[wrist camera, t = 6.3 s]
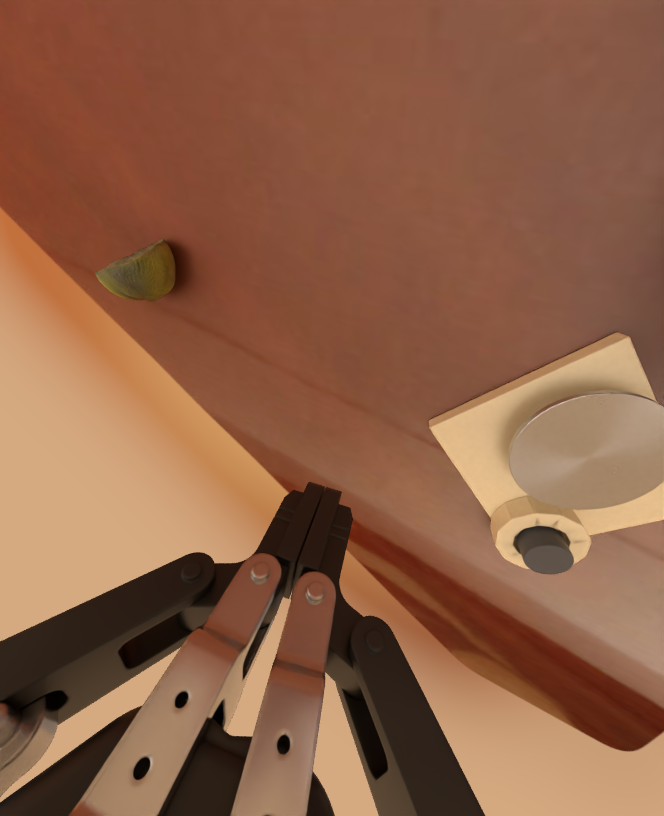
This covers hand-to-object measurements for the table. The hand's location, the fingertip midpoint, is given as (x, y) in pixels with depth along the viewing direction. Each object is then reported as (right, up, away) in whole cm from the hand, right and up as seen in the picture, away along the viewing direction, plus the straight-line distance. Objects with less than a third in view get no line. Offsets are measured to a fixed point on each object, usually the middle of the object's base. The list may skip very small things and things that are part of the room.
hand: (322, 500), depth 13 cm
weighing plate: (+16, +1, +5) cm, 17 cm away
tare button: (+16, -6, +9) cm, 19 cm away
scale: (+17, 0, +9) cm, 19 cm away
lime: (-12, +15, +10) cm, 21 cm away
